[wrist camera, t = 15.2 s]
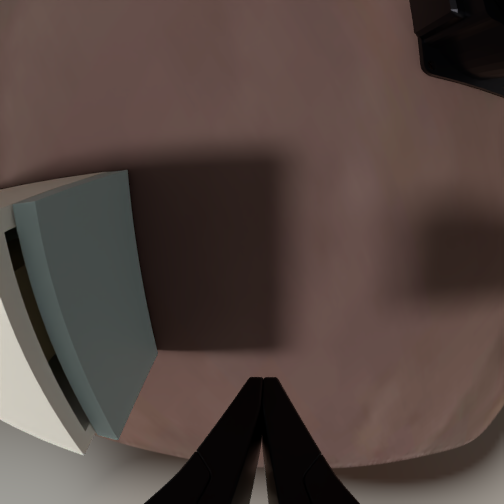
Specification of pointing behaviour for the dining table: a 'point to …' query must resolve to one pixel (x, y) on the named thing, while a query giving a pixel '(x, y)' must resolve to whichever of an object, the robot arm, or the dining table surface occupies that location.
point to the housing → (33, 351)
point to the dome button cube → (29, 297)
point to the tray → (90, 291)
